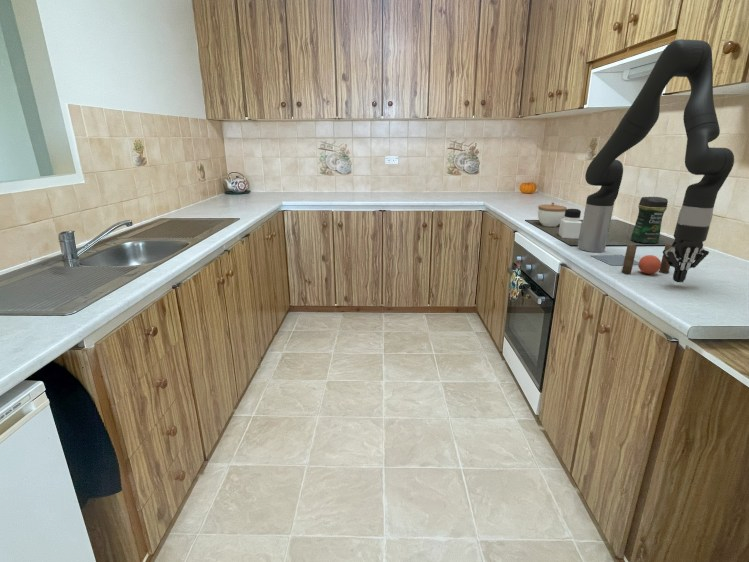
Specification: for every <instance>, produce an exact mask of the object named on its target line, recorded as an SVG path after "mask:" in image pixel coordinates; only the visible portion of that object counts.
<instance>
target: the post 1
mask: <svg viewBox="0 0 749 562" xmlns="http://www.w3.org/2000/svg"><path fill="white" fill-rule="evenodd" d="M637 248H638V246H637V245H635V244H627V245H626V250H625V254H624V256H625V259H624V263H623V265H622V268H621V273H622V274H623V273H624V274H625V275H631V274H632V270H633V267H634V265H633V262H634V260H635V256H636V252H637Z"/></svg>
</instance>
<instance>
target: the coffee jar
mask: <svg viewBox="0 0 749 562" xmlns="http://www.w3.org/2000/svg"><path fill="white" fill-rule="evenodd" d="M668 202H669V201H668V198H665V197H661V196H642V197H641V198H640V201H639V203H638V214H637V218H636V221H635V224H634V227H633V230H632V233H631V236H630V239H631V241H633V242H634V241H636V242H635V243H639V242H642V243H641V244H647V243H648V244H652V243H653V244H656V243H655V242H658V243H659V242H660V241H659V240H660V237H661V236H660V235H661V230H662V222H663V217H664V214H665V211H667V208H668Z"/></svg>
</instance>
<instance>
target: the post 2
mask: <svg viewBox="0 0 749 562" xmlns="http://www.w3.org/2000/svg"><path fill="white" fill-rule="evenodd" d="M672 244H673V243H672ZM672 244H671V243H666V244H665V246H664V249H663V250H668V249H670V248H671V247H672ZM660 262H661V267H660V269H659V270H658V272H659V273H662V274H669V272H670V269H671V266H669V264H668V262H667V260H666V258H665V256H664V254H663V253H662V258H661V260H660Z"/></svg>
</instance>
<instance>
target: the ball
mask: <svg viewBox="0 0 749 562" xmlns="http://www.w3.org/2000/svg"><path fill="white" fill-rule="evenodd" d="M638 262H639V264H638V265H637V266H638V268H639V270H640V271H641V272H642V273H644V274H646V275H653V274H655V273H658V272H659V269H660V267H661V260H660V259H659V257H657V256H655V255H653V254H648V255H645V256H642V257H641V258H640V259H639V261H638Z"/></svg>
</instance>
